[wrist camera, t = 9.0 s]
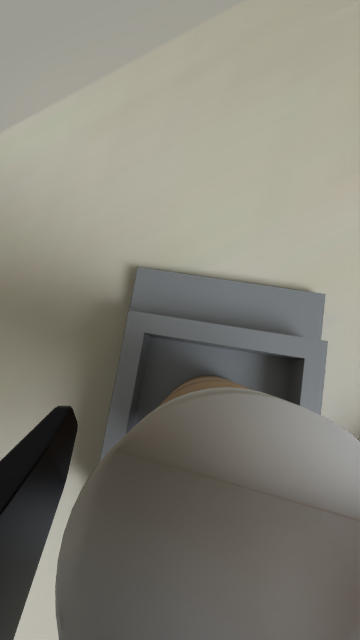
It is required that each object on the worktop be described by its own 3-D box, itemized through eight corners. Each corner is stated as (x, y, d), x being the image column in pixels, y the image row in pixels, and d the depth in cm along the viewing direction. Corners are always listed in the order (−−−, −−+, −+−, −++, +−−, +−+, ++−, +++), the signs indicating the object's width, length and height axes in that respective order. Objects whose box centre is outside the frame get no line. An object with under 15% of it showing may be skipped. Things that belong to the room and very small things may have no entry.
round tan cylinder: (227, 489, 16) (338, 935, 4) (145, 439, 17) (-16, 661, 4) (271, 403, 17) (505, 517, 4) (190, 357, 18) (170, 331, 5)
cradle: (289, 592, 16) (310, 642, 13) (87, 548, 17) (64, 586, 14) (319, 297, 18) (343, 283, 16) (140, 271, 19) (130, 253, 16)
